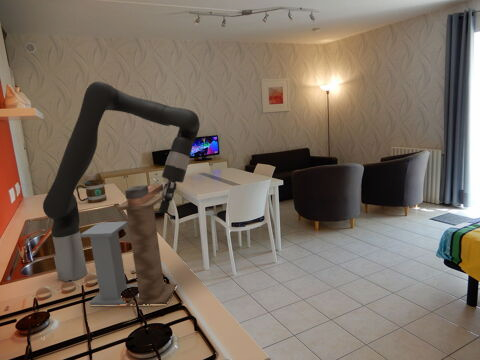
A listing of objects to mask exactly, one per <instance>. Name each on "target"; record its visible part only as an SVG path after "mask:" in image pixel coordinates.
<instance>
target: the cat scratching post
mask: <svg viewBox="0 0 480 360" xmlns="http://www.w3.org/2000/svg"><path fill="white" fill-rule="evenodd" d="M162 199H163V196H162V195H155V196H153V197H152V198H150V199H149V200H147V201H146V202H145V203H143V204H142V205H129V206H128V202H127V200H126V201H124V202H123V203H120V204H119V205H118V206H116V209H117V211H126V217H127V221H128V225H127V226H128V230H129V238H130V245H131V251H132V258H133V263H134V269H135V270H134V271H135V277H136V278H137V279H136V278H135V279H136V283H137V284H138V291H139V297H138V298H137V299H136V300H137V303H138V305H143V304H145V305H147V304H149V305H150V304H167V302H168V301H169V299H170V298H171V296H172V294H173V292H174V289H175V287H176V285H177V286H178V283H165V281H163V280H164V275H163V274H164V272H163V271H162V270H163V268H162V260H161V259H162V258H161V252H160V245H159V238H158V231H157V230H158V229H157V223H156V214H155V208H154V207H155V206H156V205H157V204H159V203H160V202H162V201H161V200H162ZM173 295H174V294H173ZM172 297H173V296H172ZM171 299H172V298H171ZM171 299H170V300H171ZM169 302H170V301H169ZM129 304H133V305H135V301H134V300H131V301H129ZM129 304H128V305H129ZM167 305H168V304H167Z"/></svg>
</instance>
